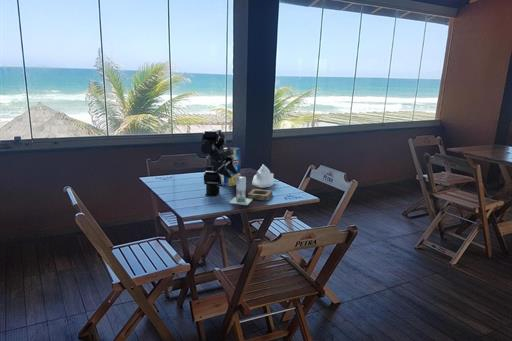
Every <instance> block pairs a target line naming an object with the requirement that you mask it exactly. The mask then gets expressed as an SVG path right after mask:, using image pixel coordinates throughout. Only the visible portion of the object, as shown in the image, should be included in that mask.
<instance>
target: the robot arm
mask: <svg viewBox="0 0 512 341" xmlns="http://www.w3.org/2000/svg"><path fill="white" fill-rule="evenodd" d="M226 140H227V139H226V135H225V134H224V133H223V132H222V129H219V128H214V129H211V130H204V132H203V133H202V138H201V143H202V145H201V146H200V150H201V153H203V154H204V155H207V156H208V157H209V160H210V163H209V166H206V168H205V171H204V173H203V184H204V185H205V186H206V187H205V188H206V189H205V190H206V191H205V193H204V195H205V196H209V197H217V196H218V195H220V193H221V192H220V188H221V187H220V185H221V176H220V174H221V175H224V176H226V177H228V178H231V177H232V176H231V175H230V173H229V172H228V170H229V171H231V172H233V173H234V174H237V171H236V169H235V167H234V165H233V161H234V158H233V157H232V156H231V155H233V154H234V153H233V151H234V150H233V149H231V148H232V147H226V148H227V149H226V151H224V152H222V150H223V149H224V148H225V146H226V142H227V141H226ZM227 169H228V170H227Z"/></svg>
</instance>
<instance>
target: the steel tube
mask: <svg viewBox="0 0 512 341" xmlns="http://www.w3.org/2000/svg"><path fill="white" fill-rule="evenodd" d="M235 187H236V190H235V197H236V201H237V202H245V201H246V198H247V197H246V196H247V177H246V176H241V175H240V176H239V177H236V185H235Z"/></svg>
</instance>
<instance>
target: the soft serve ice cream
mask: <svg viewBox="0 0 512 341" xmlns="http://www.w3.org/2000/svg"><path fill="white" fill-rule="evenodd" d="M261 165H262V166H260V168H259V169H258V170H257V172H256V173H255V174H254V176H253V178H252V181H251V185H252V186H254V187H257V188H261V189H262V188H270V187H271V186H273V185H274V173H272V172H271V171H270V169H269V168H268V167H267V166H266V165H265V164H261Z"/></svg>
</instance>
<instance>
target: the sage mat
mask: <svg viewBox="0 0 512 341" xmlns="http://www.w3.org/2000/svg"><path fill="white" fill-rule="evenodd" d="M253 200H254V199H248V197H246V201H245V202H237V201H236V196H234V197H233V198H232V199H231V200H230V201H228V204H231V205H232V204H233V205H240V206H241V205H242V206H249V204H250V203H251V202H252V201H253Z"/></svg>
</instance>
